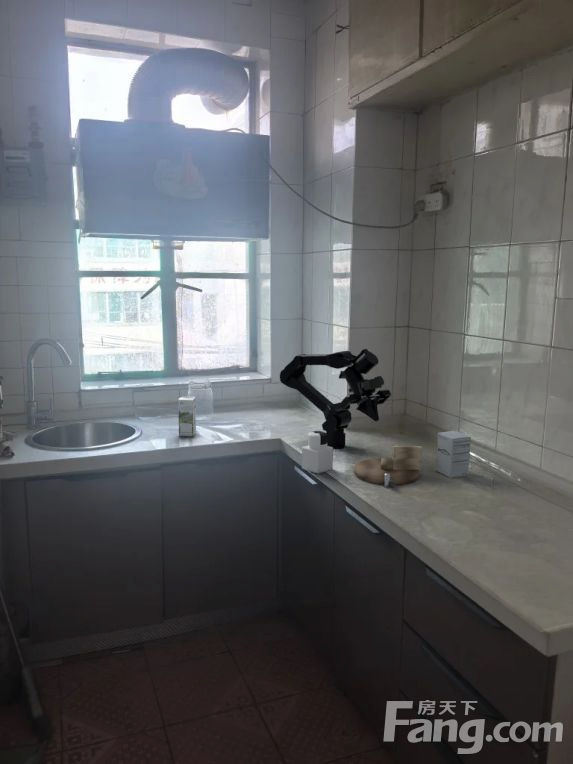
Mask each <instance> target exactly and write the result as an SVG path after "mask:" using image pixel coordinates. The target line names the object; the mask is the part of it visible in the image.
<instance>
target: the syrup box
mask: <svg viewBox="0 0 573 764" xmlns="http://www.w3.org/2000/svg"><path fill="white" fill-rule="evenodd" d="M196 403H197V401H196V396H180V397H179V398H177V405H178V406H177V407H178V409H177V410H178V413H177V414H178V416H177V417H178V436H179V437H182V438H183V437H184V438H185V437H186V438H192V437H195V435H196V434H197V423H196V422H197V420H196V419H197V418H196V417H197V416H196V415H197V414H196V412H197V411H196V410H197V409H196V407H197V406H196Z"/></svg>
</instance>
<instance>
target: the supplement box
mask: <svg viewBox="0 0 573 764" xmlns="http://www.w3.org/2000/svg"><path fill="white" fill-rule="evenodd" d="M471 441H472V436H470V435H468V434H465V433H462V432H460V431H457V430H450V431H444V432H443V431H442V432H437V444H436V459H435V471H436V472H438V473H440V474H442V475H444V476H447V477H448V478H450V479H451V478H458V477H464V476H469V470H470V469H469V468H470V467H469V466H470V454H471V443H472V442H471Z"/></svg>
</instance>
